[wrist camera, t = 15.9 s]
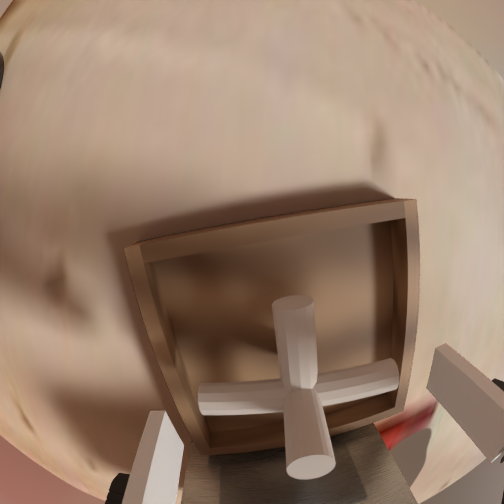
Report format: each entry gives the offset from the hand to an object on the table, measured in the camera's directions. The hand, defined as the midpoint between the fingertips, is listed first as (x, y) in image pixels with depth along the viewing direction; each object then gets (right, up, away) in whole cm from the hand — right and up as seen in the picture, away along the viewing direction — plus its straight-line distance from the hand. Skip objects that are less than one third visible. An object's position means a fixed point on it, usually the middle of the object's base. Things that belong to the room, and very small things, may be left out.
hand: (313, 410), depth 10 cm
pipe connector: (0, +1, +7) cm, 7 cm away
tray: (0, +1, +7) cm, 7 cm away
